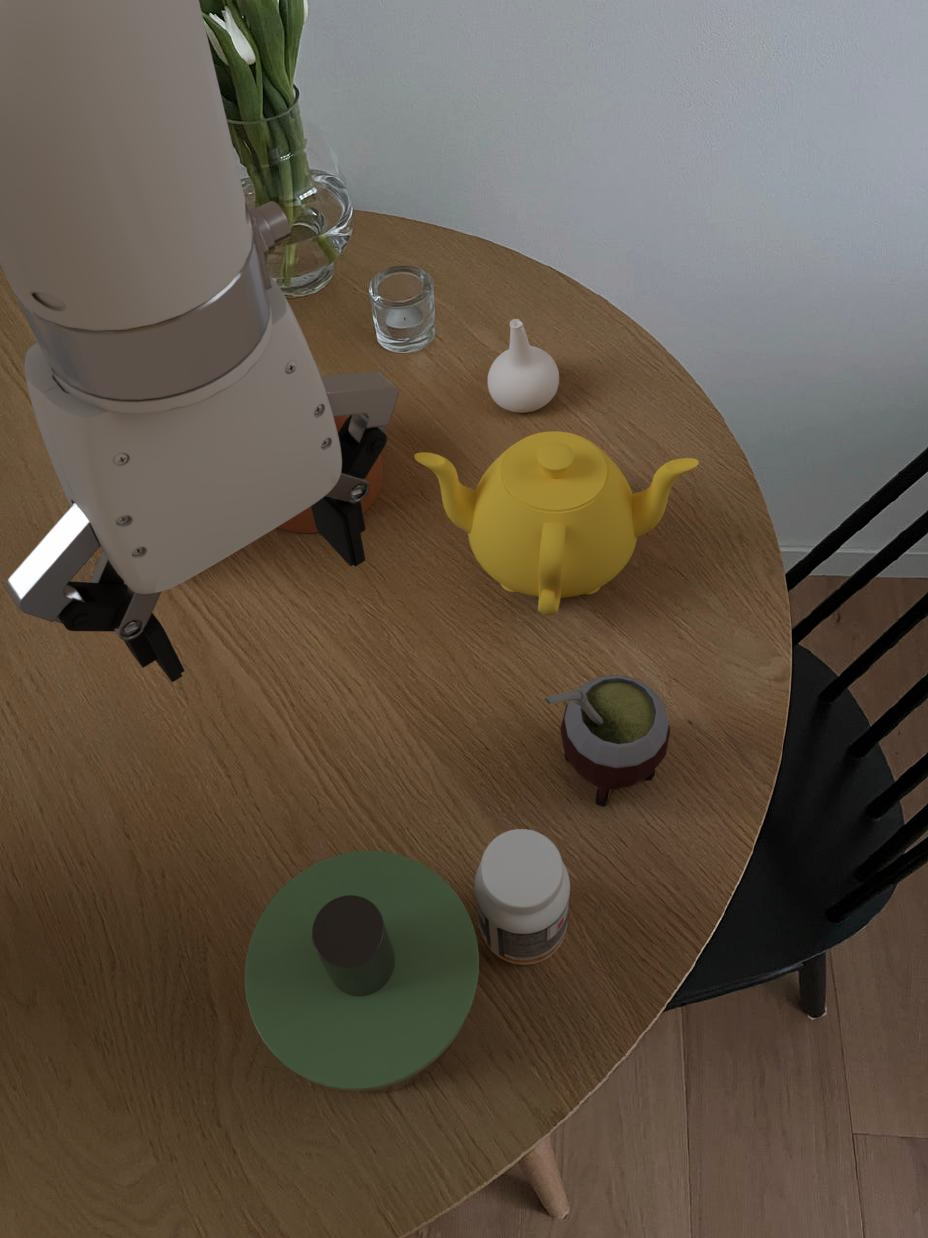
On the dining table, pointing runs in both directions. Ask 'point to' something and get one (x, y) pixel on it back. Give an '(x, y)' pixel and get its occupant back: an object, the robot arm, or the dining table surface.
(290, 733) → the dining table surface
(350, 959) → the lid
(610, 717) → the mate gourd
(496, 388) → the garlic bulb
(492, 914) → the pill bottle
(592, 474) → the teapot
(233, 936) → the dining table surface
